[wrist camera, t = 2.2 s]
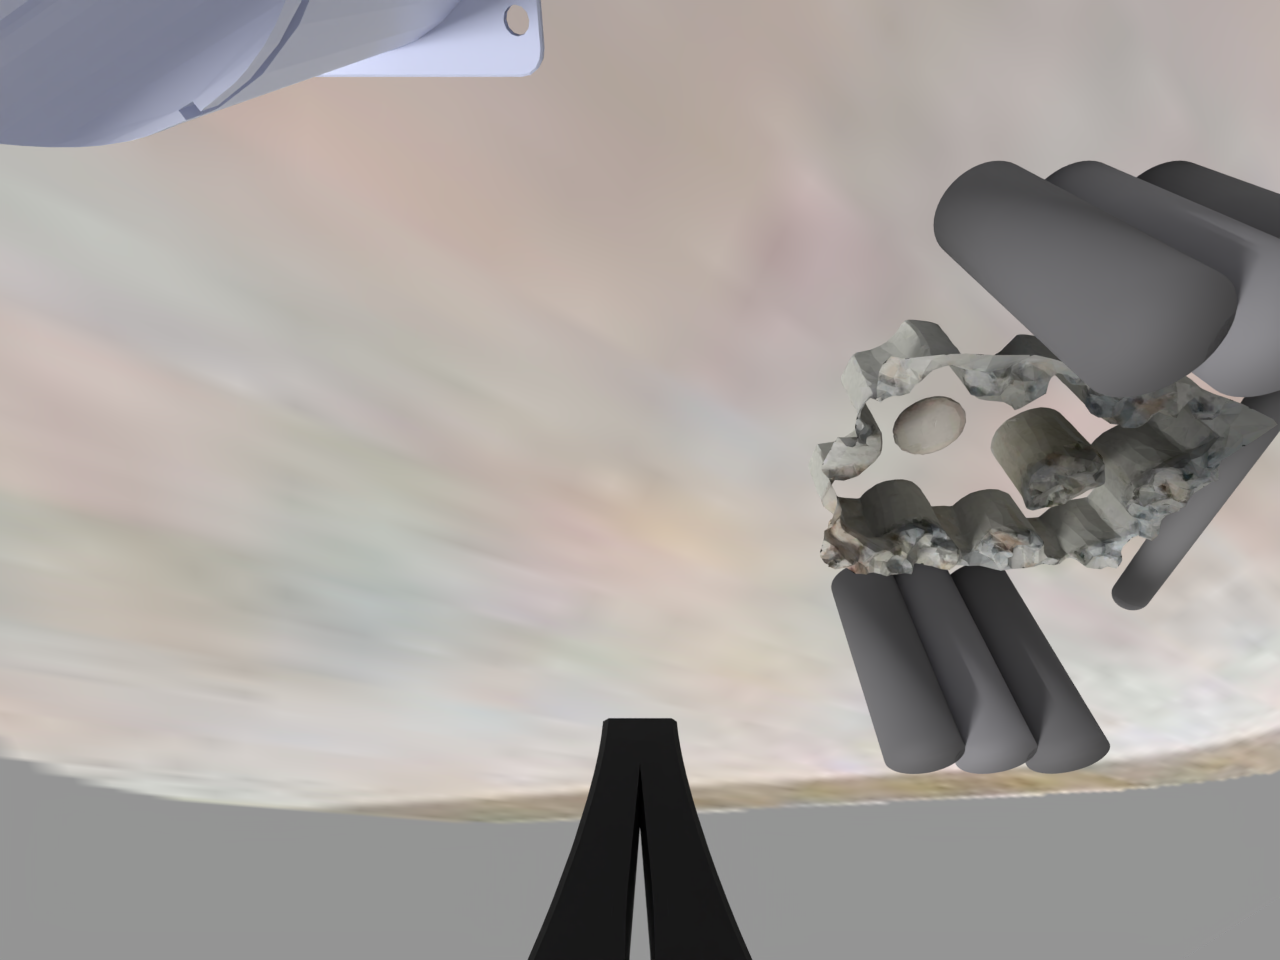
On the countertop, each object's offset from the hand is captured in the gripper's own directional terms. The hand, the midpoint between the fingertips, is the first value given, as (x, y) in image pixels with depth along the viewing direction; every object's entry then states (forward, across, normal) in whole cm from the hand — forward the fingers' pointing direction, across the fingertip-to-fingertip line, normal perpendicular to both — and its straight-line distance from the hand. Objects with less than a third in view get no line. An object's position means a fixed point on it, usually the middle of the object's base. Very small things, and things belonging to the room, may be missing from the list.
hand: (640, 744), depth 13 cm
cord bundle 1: (+10, +11, -7) cm, 17 cm away
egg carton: (+11, +11, 0) cm, 15 cm away
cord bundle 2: (+10, +11, +7) cm, 17 cm away
